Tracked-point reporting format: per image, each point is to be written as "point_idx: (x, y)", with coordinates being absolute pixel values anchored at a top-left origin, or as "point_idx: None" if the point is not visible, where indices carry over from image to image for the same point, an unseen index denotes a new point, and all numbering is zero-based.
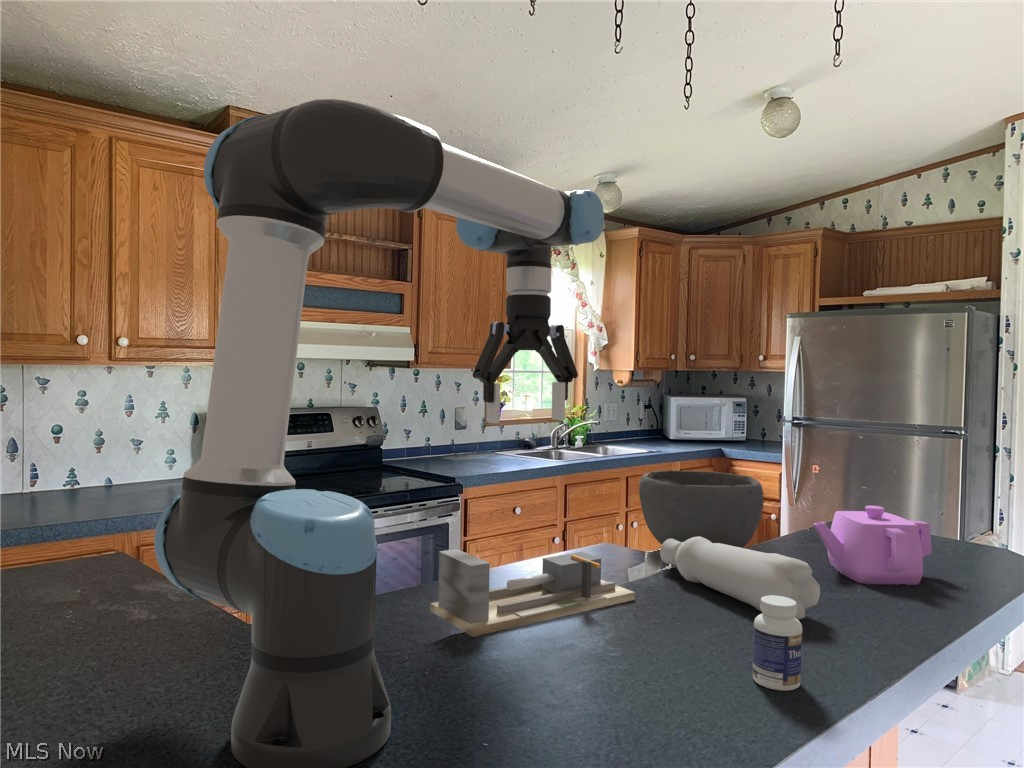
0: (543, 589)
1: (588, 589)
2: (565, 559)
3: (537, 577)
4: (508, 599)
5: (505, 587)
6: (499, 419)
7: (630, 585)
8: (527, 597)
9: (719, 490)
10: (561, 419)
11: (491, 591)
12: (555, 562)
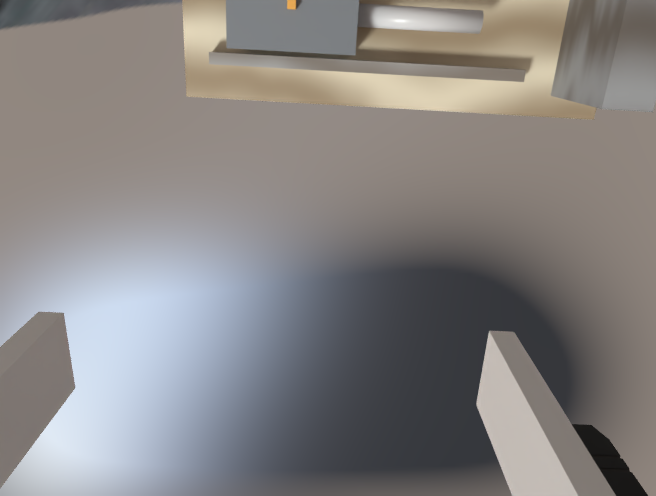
0: (347, 56)
1: None
2: (314, 10)
3: (406, 9)
4: (454, 44)
5: (443, 74)
6: (495, 342)
7: (120, 4)
8: (413, 31)
9: None
10: (60, 314)
11: (486, 68)
12: (355, 1)
